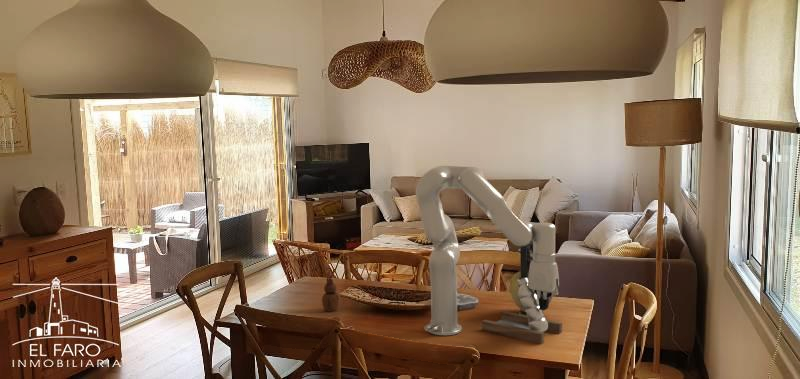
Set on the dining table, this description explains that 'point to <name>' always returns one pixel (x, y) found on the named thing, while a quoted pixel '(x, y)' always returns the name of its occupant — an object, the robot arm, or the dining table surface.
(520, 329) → the u rest
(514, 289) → the amphora
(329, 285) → the wooden figurine
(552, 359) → the dining table surface
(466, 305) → the brain slice
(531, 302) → the plastic bottle
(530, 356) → the dining table surface
